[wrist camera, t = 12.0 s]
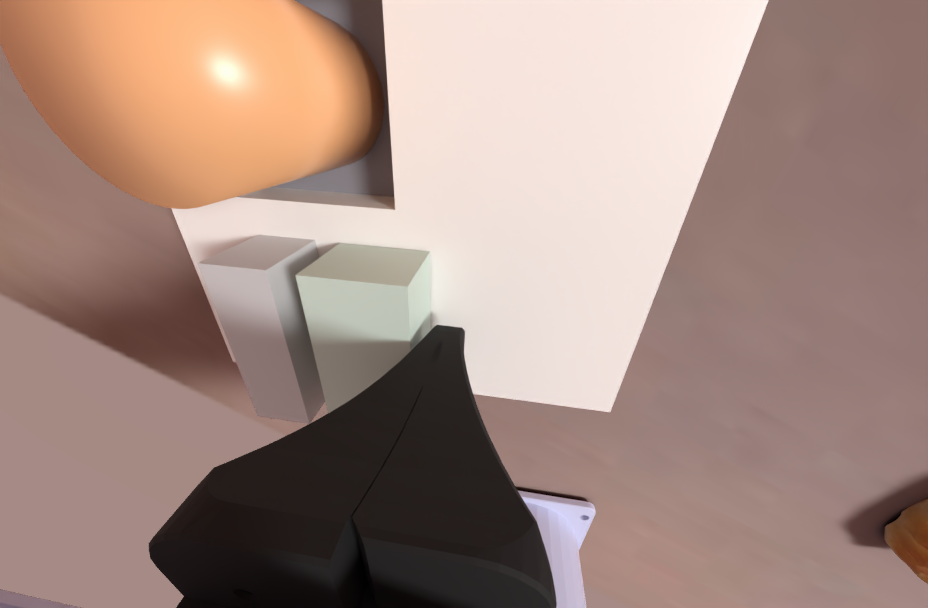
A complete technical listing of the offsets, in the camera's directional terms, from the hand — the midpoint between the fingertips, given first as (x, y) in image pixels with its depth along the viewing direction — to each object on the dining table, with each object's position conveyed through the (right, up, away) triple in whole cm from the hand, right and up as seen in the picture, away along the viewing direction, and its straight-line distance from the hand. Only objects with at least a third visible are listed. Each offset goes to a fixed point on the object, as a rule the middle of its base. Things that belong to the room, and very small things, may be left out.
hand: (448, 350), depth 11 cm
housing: (-1, +5, +1) cm, 5 cm away
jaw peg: (-4, +8, -1) cm, 9 cm away
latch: (-2, +1, +1) cm, 3 cm away
